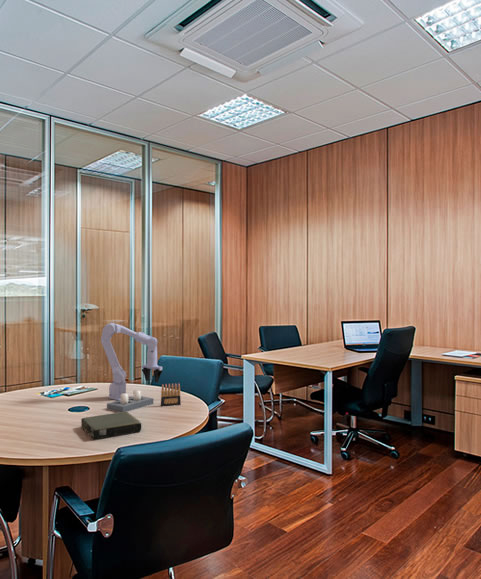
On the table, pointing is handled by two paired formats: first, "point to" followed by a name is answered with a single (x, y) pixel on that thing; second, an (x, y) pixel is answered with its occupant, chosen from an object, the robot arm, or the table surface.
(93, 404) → the table surface
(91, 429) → the network switch
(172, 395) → the ammunition clip
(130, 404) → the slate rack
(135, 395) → the white rounded egg shape
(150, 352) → the robot arm
